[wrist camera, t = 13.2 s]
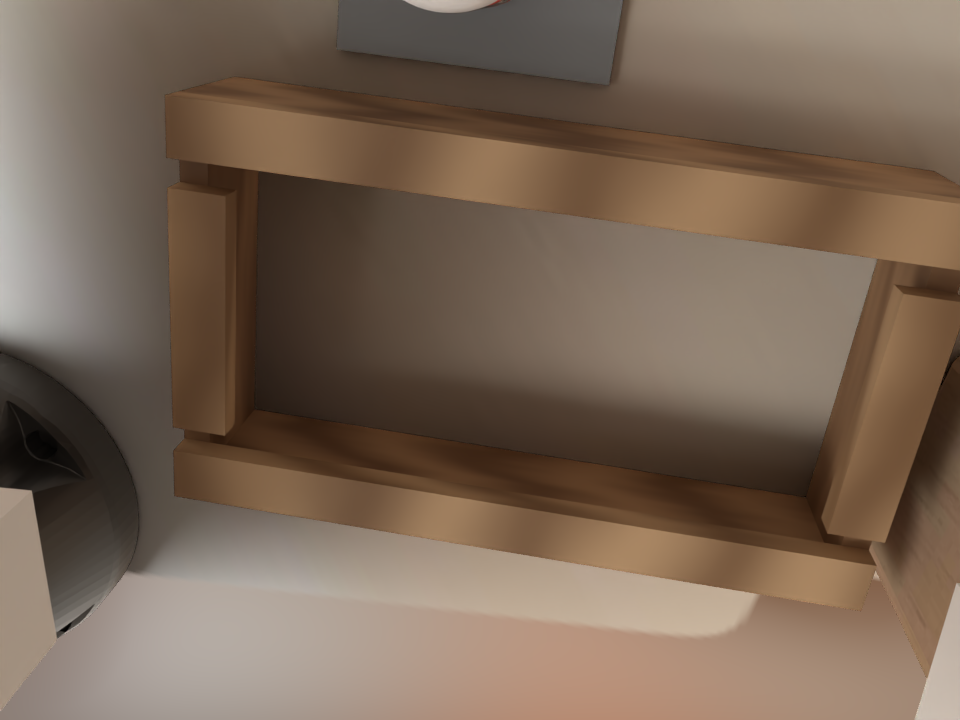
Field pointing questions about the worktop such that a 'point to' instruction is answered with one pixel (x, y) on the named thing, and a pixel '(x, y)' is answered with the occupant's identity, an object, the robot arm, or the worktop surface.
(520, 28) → the slate pad
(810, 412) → the worktop surface
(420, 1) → the pill bottle
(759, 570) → the tray
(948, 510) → the block
